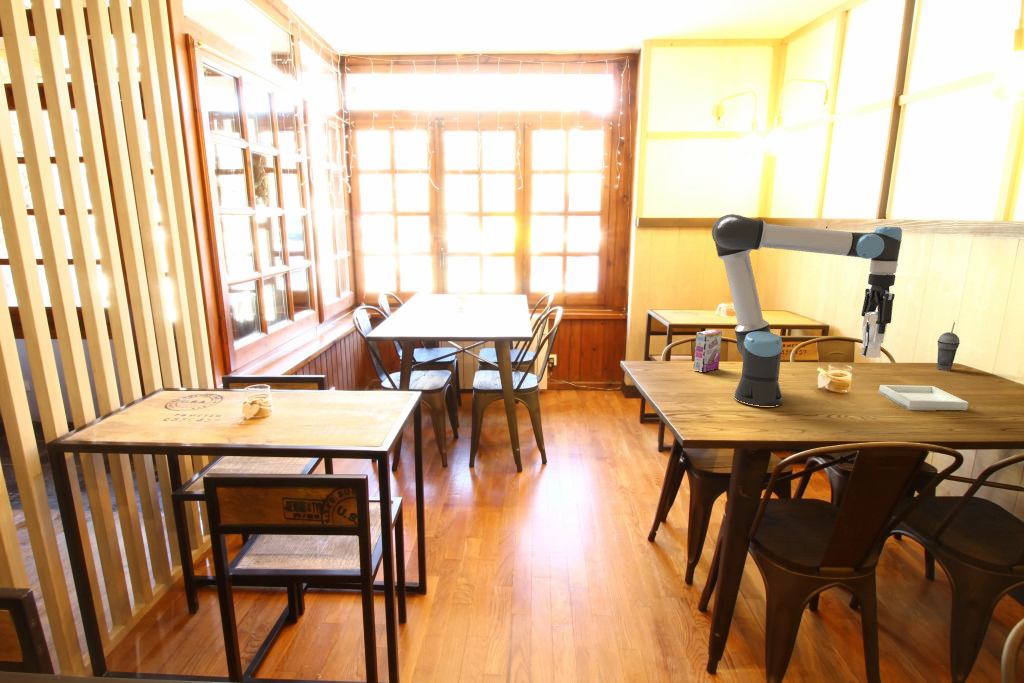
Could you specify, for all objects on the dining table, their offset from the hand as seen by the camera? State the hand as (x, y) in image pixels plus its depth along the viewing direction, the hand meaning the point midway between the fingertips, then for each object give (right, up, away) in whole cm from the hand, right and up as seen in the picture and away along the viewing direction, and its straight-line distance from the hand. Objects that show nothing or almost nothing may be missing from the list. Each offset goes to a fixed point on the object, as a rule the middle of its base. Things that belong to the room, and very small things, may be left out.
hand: (872, 340), depth 193 cm
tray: (+16, -21, -1) cm, 26 cm away
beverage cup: (+54, -12, +38) cm, 67 cm away
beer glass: (0, -6, +1) cm, 6 cm away
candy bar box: (-43, -13, +40) cm, 60 cm away
